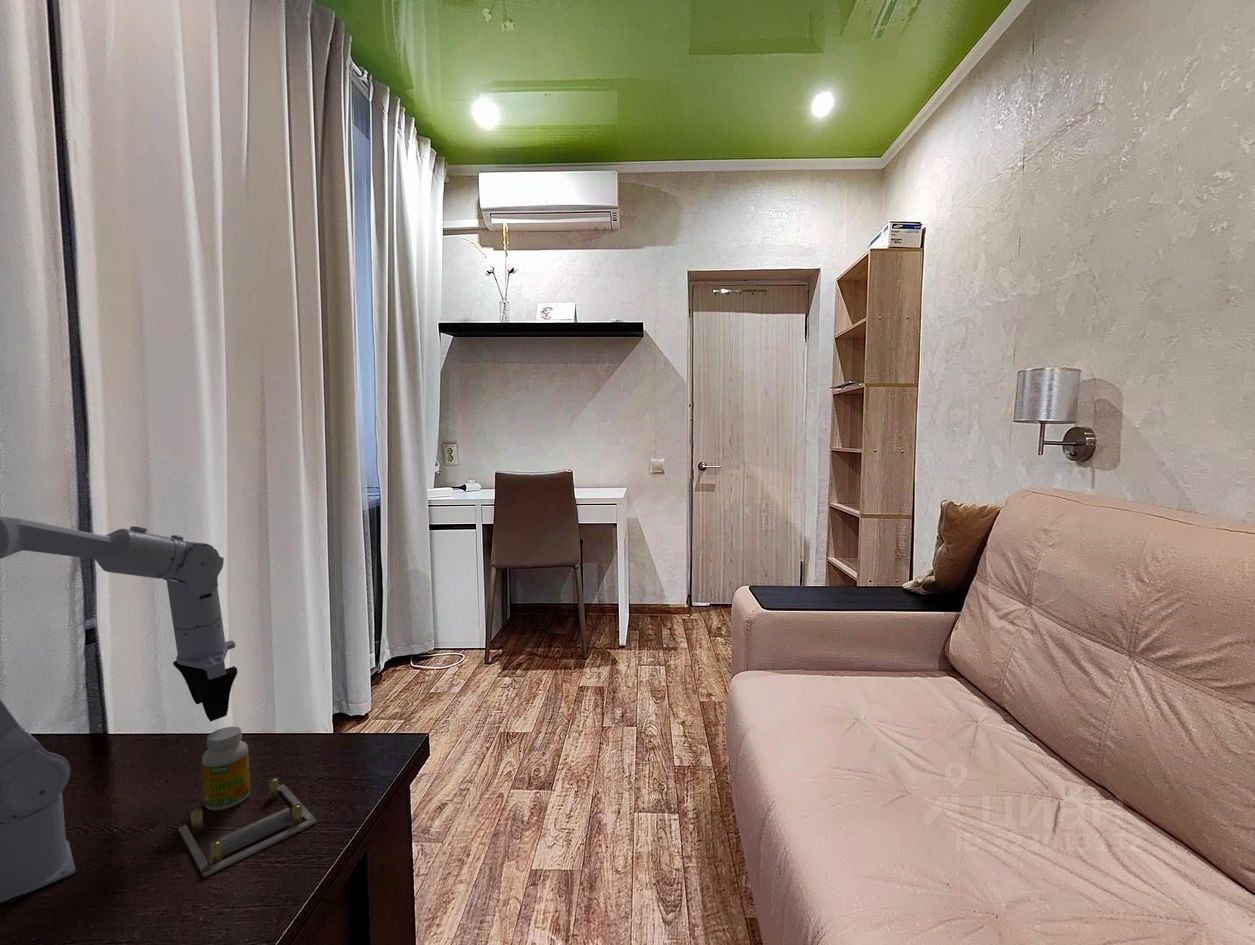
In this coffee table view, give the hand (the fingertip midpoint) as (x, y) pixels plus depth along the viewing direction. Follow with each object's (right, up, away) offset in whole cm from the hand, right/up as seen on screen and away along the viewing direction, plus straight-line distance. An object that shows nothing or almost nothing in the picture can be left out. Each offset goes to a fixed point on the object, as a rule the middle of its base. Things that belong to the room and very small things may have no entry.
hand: (210, 709), depth 86 cm
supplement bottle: (+5, -11, -4) cm, 13 cm away
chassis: (+12, -11, -10) cm, 20 cm away
